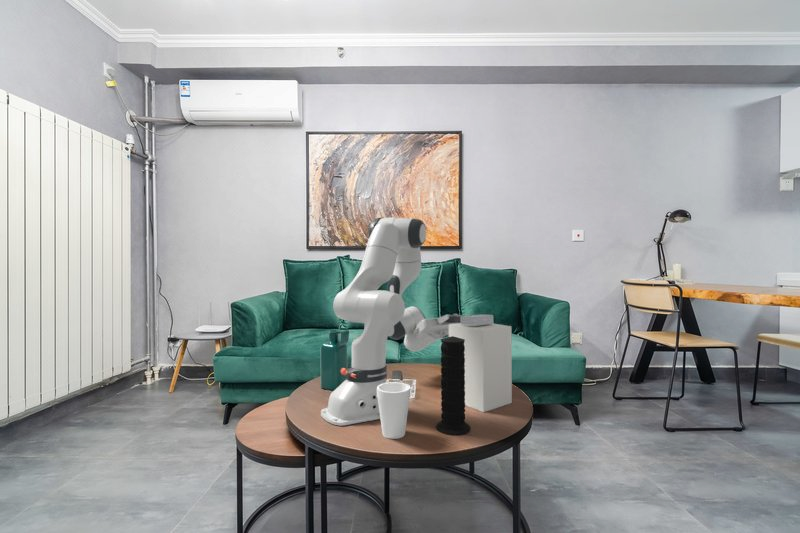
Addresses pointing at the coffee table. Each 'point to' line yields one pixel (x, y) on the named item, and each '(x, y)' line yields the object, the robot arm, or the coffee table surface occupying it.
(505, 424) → the coffee table surface
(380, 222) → the robot arm
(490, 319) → the hammer
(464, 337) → the plinth
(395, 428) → the foam cup
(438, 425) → the handle grip
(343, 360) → the green bottle
